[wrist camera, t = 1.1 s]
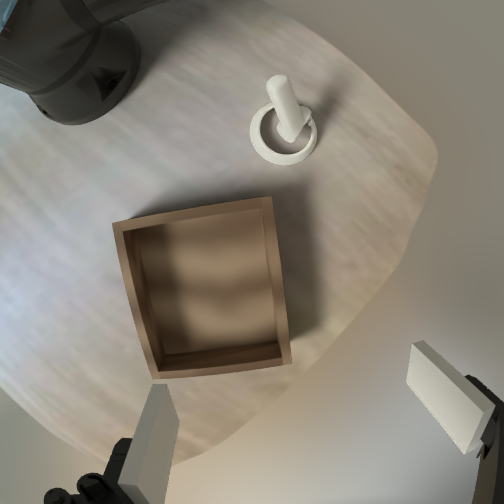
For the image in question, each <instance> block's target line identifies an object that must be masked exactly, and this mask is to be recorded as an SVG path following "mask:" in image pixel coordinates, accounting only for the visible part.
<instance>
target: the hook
mask: <svg viewBox="0 0 504 504" xmlns="http://www.w3.org/2000/svg"><path fill="white" fill-rule="evenodd" d="M266 89H267V92H268V94H269V97H270V99H271V101H272V103H269V104H267V105H265V106H263V107H262V108H261V109H260V110H258V112H257V113H256V114H255V115H254V117H253V119H252V122H251V125H250V138H251V141H252V144H253V146H254V148H255V149H256V151H257V152H258V153H259V154H260V155H261V156H262V157H263V158H264V159H266V160H267V161H269V162H272V163H274V164H278V165H293V164H296V163H299V162H301V161H302V160H304V159H305V158H307V157H308V156H309V155H310V153H311V152H312V151H313V149H314V147H315V145H316V140H317V130H316V125H315V123H314V120H313V118H312V117H311V113H312V112H311V111H310V110H309V109H308V108H307V107H305V106H299V105H298V102H297V99H296V96H295V93H294V90H293V87H292V84H291V82H290V80H289V78H288V76H286V75H275V76H273V77H271V78H270V79H269V80H268V81H267V83H266ZM272 108H275V111H276V113H277V115H278V118H279V120H280V122H279V124H278V125H277V131H278V133H279V134H280V135H281V137H282V138H283V139H284V140H285V141H287V142H290V143H293V142H294V141H295V140H296V138H297V137H298V135H299V134H300V132H301V130H302V129H303V126H305V124H306V123H308V126H311V138H310V141H309V143H308V144H307V146H306V147H305V148H304V149H303V150H301V151H299V152H298V153H295V154H289V155H286V154H280V153H277V152H275V151H273V150H271V149H270V148H269V147H268V146H267V145H266V144H265V143H264V141H263V140H262V137H261V134H260V124H261V120H262V118H263V116H264V115H265V114H266V113H267V112H268V111H269V110H271V109H272Z"/></svg>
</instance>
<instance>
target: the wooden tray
mask: <svg viewBox="0 0 504 504" xmlns="http://www.w3.org/2000/svg"><path fill="white" fill-rule="evenodd" d="M112 226H113V231H114V237H115V242H116V247H117V252H118V257H119V262H120V266H121V271H122V275H123V280H124V284H125V288H126V292H127V296H128V300H129V304H130V308H131V311H132V315H133V319H134V322H135V326H136V329H137V333H138V336H139V339H140V343H141V346H142V349H143V352H144V355H145V358H146V361H147V364H148V367H149V370H150V373H151V376H152V379H169V378H183V377H195V376H206V375H216V374H225V373H233V372H241V371H248V370H255V369H262V368H268V367H275V366H281V365H286V364H292V357H291V348H290V339H289V330H288V321H287V312H286V303H285V295H284V287H283V278H282V270H281V262H280V254H279V247H278V239H277V232H276V224H275V217H274V209H273V202H272V196H264V197H257V198H250V199H243V200H236V201H230V202H223V203H217V204H211V205H204V206H198V207H192V208H187V209H181V210H175V211H170V212H164V213H159V214H153V215H148V216H143V217H138V218H133V219H128V220H123V221H119V222H115V223H112Z"/></svg>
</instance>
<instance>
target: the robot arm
mask: <svg viewBox="0 0 504 504" xmlns="http://www.w3.org/2000/svg"><path fill="white" fill-rule="evenodd" d="M166 1H169V0H0V83H2V84H5V85H7V86H10V87H12V88H15V89H17V90H20V91H23V92H25V93H27V94H28V95H29V96H30V98H31V99H32V101H33V102H34V103H35V104H36V105H37V107H38V109H39V110H40V111H41V112H42V114H43V115H45V116H46V117H47V118H49V119H51V120H53V121H56V122H58V123H61V124H65V125H80V124H84V123H88V122H90V121H93V120H95V119H97V118H99V117H100V116H102V115H103V114H105V113H106V112H108V111H109V110H110V109H111V108H113V107H114V106H115V105H116V104H117V103H118V102H119V101H120V100H121V99H122V97H123V96H124V95H125V94H126V92H127V91H128V89H129V88H130V86H131V85H132V83H133V81H134V79H135V77H136V74H137V71H138V68H139V64H140V47H139V43H138V41H137V39H136V37H135V36H134V34H133V33H132V31H131V30H130V29H129V27H127V26H126V25H125V24H124V23H123V22H121V21H119V19H121V18H124V17H126V16H128V15H131V14H133V13H136V12H138V11H141V10H143V9H146V8H149V7H152V6H154V5H157V4H160V3H163V2H166ZM406 383H407V384H408V385H409V387H410V388H411V389H412V390H413V392H414V393H415V394H416V395H417V396H418V398H419V399H420V400H421V401H422V402H423V404H424V405H425V406H426V407H427V409H428V410H429V411H430V412H431V414H432V415H433V416H434V417H435V418H436V420H437V421H438V422H439V423H440V425H441V426H442V427H443V428H444V430H445V431H446V432H447V433H448V435H449V436H450V437H451V438H452V440H453V441H454V442H455V443H456V445H457V446H458V447H459V449H460V450H461V451H462V452H463V454H466V453H468V452H469V451H471V450H473V449H474V448H476V447H477V445H478V443H479V441H480V439H481V440H482V442H483V445H482V447H481V449H480V451H479V453H478V454H477V457H476V458H478V457H479V456H480V454H481V456H480V464H479V470H478V476H477V482H476V487H475V492H474V497H473V502H472V504H504V402H503V401H501V400H500V399H499V398H498V397H497V396H496V395H495V394H494V393H493V392H491V391H490V390H489V389H487V387H486V386H485V385H483V383H481V382H480V381H479V380H478V379H477V378H475V377H472V376H470V375H466V376H463V375H462V374H461V373H460V372H459V371H457V370H456V369H455V368H454V367H453V366H452V365H450V363H448V362H447V361H446V360H445V359H444V358H443V357H442V356H441V355H439V354H438V353H437V352H436V351H435V350H434V349H433V348H431V347H430V346H429V345H428V344H427V343H426V342H424V341H423V340H422V341H419V342H416V343H412V348H411V355H410V362H409V369H408V375H407V381H406ZM179 423H180V421H179V418H178V416H177V413H176V410H175V407H174V404H173V401H172V398H171V395H170V392H169V389H168V386H167V384H153V385H152V388H151V390H150V393H149V396H148V398H147V401H146V404H145V406H144V409H143V412H142V414H141V417H140V420H139V423H138V425H137V428H136V431H135V434H134V437H133V438H121V439H120V440H119V441H118V442H117V443H116V444H115V446H114V449H113V451H112V455H111V456H110V459H109V461H108V464H107V466H106V469H105V472H104V474H103V475H100V474H98V473H89V474H86V475H84V476H82V477H81V478H80V479H79V480H78V482H77V490H78V492H79V493H80V494H74V495H70V494H69V493H68V492H67V491H66V490H64V489H62V488H53V489H50V490H49V491H48V492H47V493H46V494H45V496H44V504H164V502H165V496H166V491H167V485H168V480H169V474H170V469H171V463H172V458H173V453H174V448H175V443H176V438H177V433H178V428H179Z"/></svg>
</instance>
